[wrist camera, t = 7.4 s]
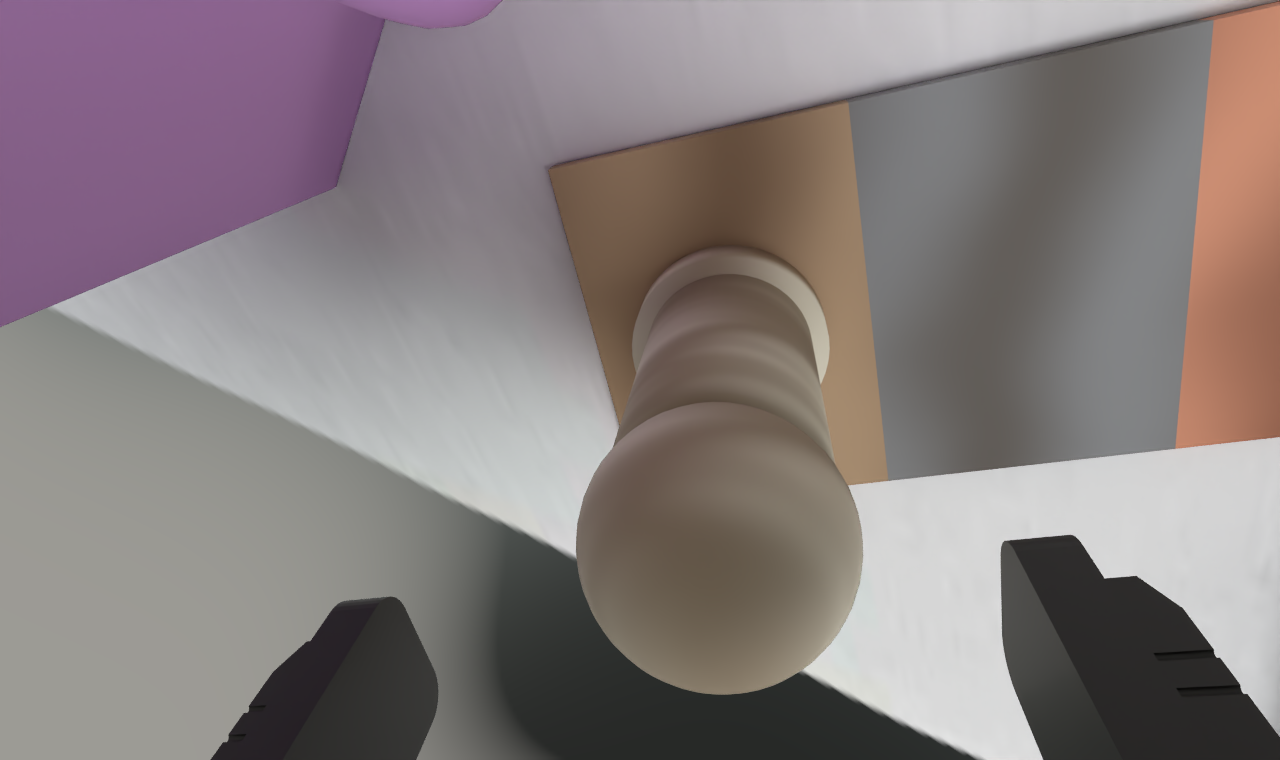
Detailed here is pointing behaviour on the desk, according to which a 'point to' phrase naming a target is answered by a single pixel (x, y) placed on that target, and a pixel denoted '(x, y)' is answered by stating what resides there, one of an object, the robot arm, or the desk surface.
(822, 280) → the track board
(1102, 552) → the desk surface
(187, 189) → the teapot
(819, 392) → the pawn
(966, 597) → the desk surface
